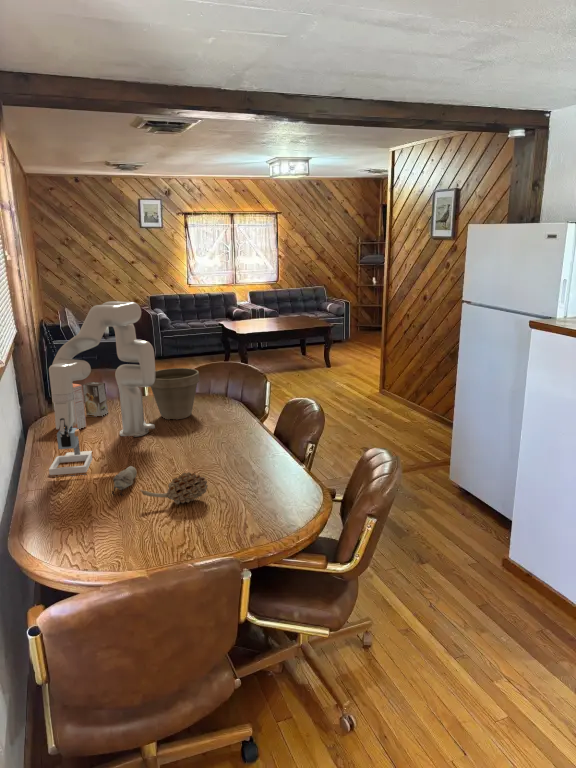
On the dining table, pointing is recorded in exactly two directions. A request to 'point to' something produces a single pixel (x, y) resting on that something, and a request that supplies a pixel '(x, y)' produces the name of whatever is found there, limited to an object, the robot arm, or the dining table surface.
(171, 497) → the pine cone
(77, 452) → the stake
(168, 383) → the plant pot
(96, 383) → the coffee box
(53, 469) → the tray
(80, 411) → the cracker box
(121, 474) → the decorative bird
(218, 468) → the dining table surface
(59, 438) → the collar
